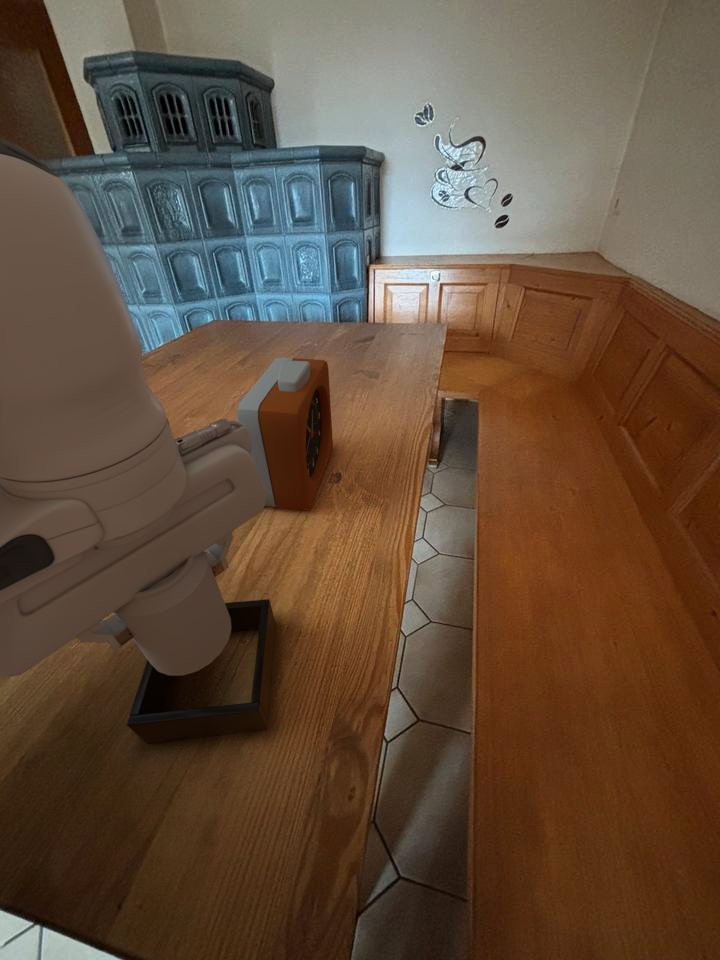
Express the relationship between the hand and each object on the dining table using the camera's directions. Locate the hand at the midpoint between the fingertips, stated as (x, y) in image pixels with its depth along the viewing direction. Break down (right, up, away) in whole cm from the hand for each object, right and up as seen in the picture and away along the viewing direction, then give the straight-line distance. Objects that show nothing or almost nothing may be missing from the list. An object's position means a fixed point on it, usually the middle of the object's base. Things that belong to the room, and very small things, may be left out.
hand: (172, 601), depth 32 cm
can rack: (0, -11, +10) cm, 15 cm away
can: (0, -5, +4) cm, 7 cm away
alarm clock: (+5, +11, +36) cm, 38 cm away
